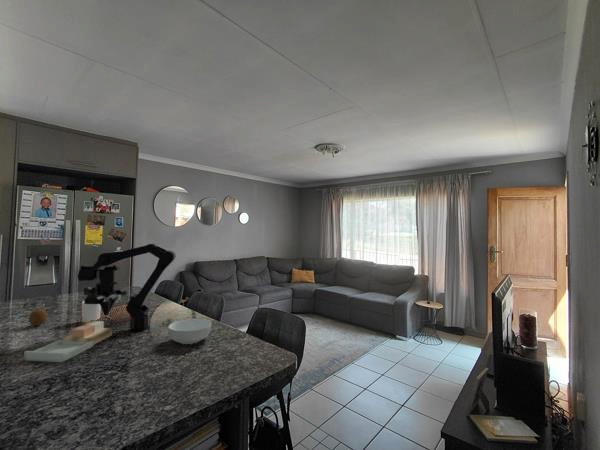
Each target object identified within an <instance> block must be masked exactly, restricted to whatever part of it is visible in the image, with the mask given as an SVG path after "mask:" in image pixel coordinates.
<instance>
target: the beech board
mask: <svg viewBox="0 0 600 450" xmlns="http://www.w3.org/2000/svg"><path fill="white" fill-rule="evenodd" d="M112 335H113V328H112V327H111V328H110V327H108V328H107V327H104V328H103V329H101V330H99V331H97V332H95V333H93V334H90V335H88V336H86V337H72V332H71V333H69V334H67V335H65V336H62V338H61V340H62V341H77V342H90V341H94V345H96V344H97V343H99V342H102V341H103V340H106V339H108V338H109V337H111V336H112Z"/></svg>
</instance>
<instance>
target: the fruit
mask: <svg viewBox="0 0 600 450" xmlns="http://www.w3.org/2000/svg"><path fill="white" fill-rule="evenodd" d="M47 317H48V315H47V312H46V311H45V310H44V309H40V308H37V309H35V310H33V311H31V312H30V314H29V317H28V321H29V323H30V325H31V326H35V327H39V326H41V325H43V324H45V322H46V321H47Z"/></svg>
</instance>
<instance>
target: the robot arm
mask: <svg viewBox="0 0 600 450" xmlns="http://www.w3.org/2000/svg"><path fill="white" fill-rule="evenodd" d="M144 254H151V255H152V256H154V257H156V258H157V259H158V261H157V263H156V267H155V268H154V270H153V271H152V273H151V274H150V276H149V277H148V279H147V280H146V282H145V284H144V285H143V286H142V287H141V289H140V290H139V292H138V294H137V293H134V294H133V295H132V296H131V297H130V298H129V301H128V302H127V303H126V307H125V308H126V309H125V310H126V312H127V313H128V314H129V316H130V320H129V321H130V324H129V329H128V331H129V332H143V331H145V330H147V329H150V327H151V326H150V325H149V314H148V312H149V310H150V308H149V307H148V306H147V305H146V301H147V300H148V299H147V298H148V296H149V294H150V293H151V291H152V290H153V288H154V286H156V283H157V282H158V280H159V279H160V277H161V276H162V274H163V273H164V272H165V270H166V269H167V268H168V267H169V266H170V265H172V263H173V262H174V261H175V260H176V253H175V252H174V251H173V250H167V249H165V248H162V247H160V246H158V245H156V244H155V243H148V244H146V245H142V246H138V247H134V248H130V249H126V250H121V251H108V252H103V253H101V254H99V255H98V257H97V261H96V262H95V263H94V264H93V265H81V266H80V269H79V270H78V274H77V279H78V281H79V282H89V281H90V282H95V281H96V280H97V279H98V281H99V282H98V283H96V284H95V286H94V287H91V286H87V287H84V288H83V295H85V298H84V300H83V301H84V304H100V306H101V311H102V312H103V315H104V316H108V315H109V313H111V312H110V311H111V310H112V308H113V307H114V305H115V303H116V301H117V300H118V297H116V296H117V295H119V296H123V297H124V296H126V295H127V290H126V289H125V288H115V285H117V281H115V277H116V276H115V273H116V272H115V271H118V270H120V269H121V267H119V266H118V265H117V264H115V263H118V262H120V261H122V260H125V259H129V258H133V257H137V256H140V255H144ZM111 265H112V266H111Z"/></svg>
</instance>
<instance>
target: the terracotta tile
mask: <svg viewBox="0 0 600 450" xmlns="http://www.w3.org/2000/svg"><path fill="white" fill-rule="evenodd" d="M71 333H72V337H86V336H88V335H90V334H93V333H94V326H89V325H84V324H82V325H80V326H77V327H75V328H73V329H71Z"/></svg>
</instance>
